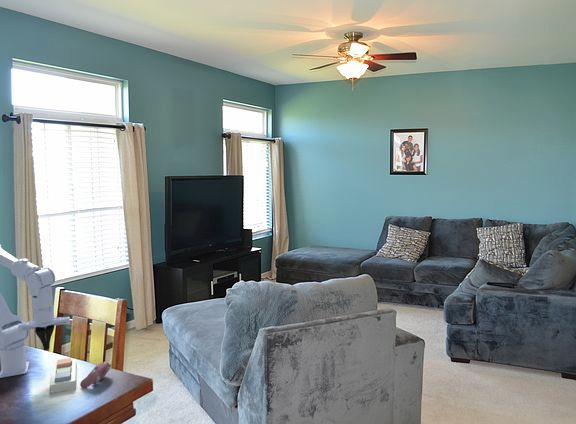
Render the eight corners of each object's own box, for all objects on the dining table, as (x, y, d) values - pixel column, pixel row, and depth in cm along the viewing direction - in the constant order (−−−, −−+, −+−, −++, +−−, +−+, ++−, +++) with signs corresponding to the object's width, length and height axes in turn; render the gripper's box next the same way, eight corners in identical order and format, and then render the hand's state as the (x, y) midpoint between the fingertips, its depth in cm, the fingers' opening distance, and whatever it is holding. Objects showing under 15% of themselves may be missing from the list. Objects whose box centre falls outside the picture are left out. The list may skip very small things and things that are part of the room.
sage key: (57, 375, 158) (57, 369, 157) (71, 372, 159) (70, 367, 159) (56, 380, 154) (56, 374, 154) (70, 377, 156) (70, 371, 155)
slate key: (56, 379, 153) (55, 373, 152) (70, 376, 154) (69, 370, 154) (55, 384, 149) (55, 378, 149) (70, 382, 150) (69, 375, 150)
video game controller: (90, 394, 149) (98, 375, 148) (77, 387, 150) (85, 367, 148) (108, 379, 159) (115, 361, 157) (96, 372, 159) (103, 354, 158)
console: (53, 369, 164) (53, 362, 163) (76, 365, 166) (76, 358, 166) (50, 393, 147) (49, 385, 147) (75, 388, 150) (75, 380, 149)
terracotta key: (58, 365, 163) (57, 359, 162) (71, 363, 164) (70, 357, 164) (57, 370, 159) (56, 364, 159) (71, 368, 160) (70, 362, 160)
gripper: (15, 314, 149) (19, 357, 151) (67, 307, 155) (71, 349, 156) (18, 308, 156) (22, 349, 157) (68, 301, 161) (71, 341, 163)
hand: (46, 348), depth 157 cm, fingers closed
